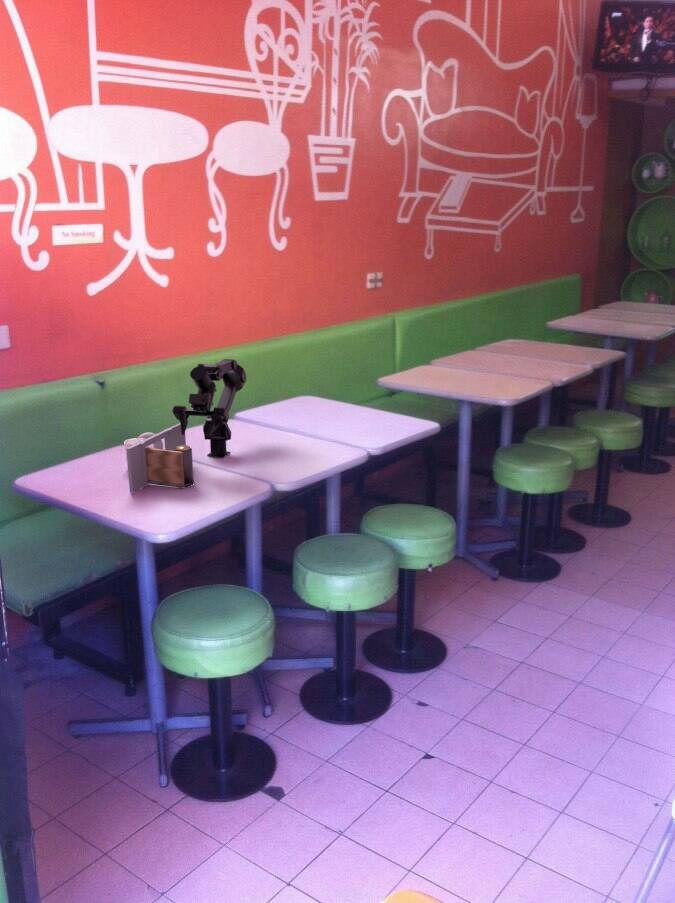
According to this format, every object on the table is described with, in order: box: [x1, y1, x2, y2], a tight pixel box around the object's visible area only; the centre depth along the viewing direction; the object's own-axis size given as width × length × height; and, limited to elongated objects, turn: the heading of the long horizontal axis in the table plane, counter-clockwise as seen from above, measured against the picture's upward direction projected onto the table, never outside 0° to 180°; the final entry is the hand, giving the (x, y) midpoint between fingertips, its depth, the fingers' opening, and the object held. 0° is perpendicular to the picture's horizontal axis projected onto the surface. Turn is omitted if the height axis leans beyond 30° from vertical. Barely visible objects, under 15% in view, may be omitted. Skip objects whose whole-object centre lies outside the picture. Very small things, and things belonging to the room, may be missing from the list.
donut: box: [137, 431, 164, 450], centre depth 308 cm, size 10×3×10 cm, turn 94°
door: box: [145, 447, 186, 489], centre depth 278 cm, size 14×1×12 cm, turn 70°
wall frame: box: [126, 422, 187, 494], centre depth 288 cm, size 34×2×15 cm, turn 159°
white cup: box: [123, 437, 148, 468], centre depth 297 cm, size 8×8×10 cm
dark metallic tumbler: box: [174, 444, 195, 488], centre depth 281 cm, size 6×6×13 cm
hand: (195, 435), depth 289 cm, fingers open, 9 cm apart
